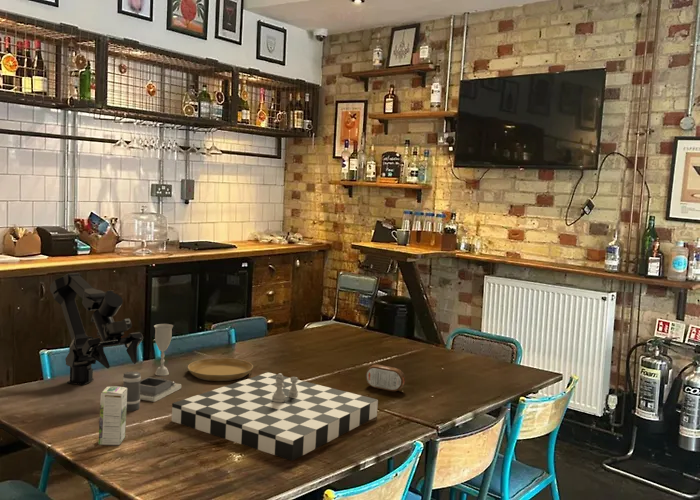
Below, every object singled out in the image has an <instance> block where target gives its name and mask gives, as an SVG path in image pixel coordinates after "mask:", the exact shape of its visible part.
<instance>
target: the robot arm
mask: <svg viewBox="0 0 700 500" xmlns="http://www.w3.org/2000/svg"><path fill="white" fill-rule="evenodd" d="M49 291H50V294H52V297H53V299H54V301H55V302H57V303H58V304H59V305H61V310H62V312H63V313H62V314H63V316H64V319H65V322H66V325H67V329H68V333H69V336H70V339H71V343H70V345H69V349H68V350H69V352H68V354H67V356H66V357H65V365H66V366H67V367H69V380H68V381H66V383H67V384H70V385H73V384H74V385H83V386H85V385H86V384H88V383H90V382H93V381H94V379H95V378H93V372H94V371H93V370H94V369H93V368H92V365H95V364H96V363H97V362H98V363H100V365H102V366H103V367H105V368H106V369H110V367H111V365H110V363H109V359H108V358H107V355H106V353H105V351H104V348H106V347H107V348H108V347H114V346H115V347H117V346H122V345H124V346H125V348H126V350H125V351H126V353H127V354H128V356H129V358H130V360H131V362H132V363H133V364H134V365H136V364H137V362H138V361H137V359H138V357H137V349H138V347H139V346H140V345H141V343H142V341H143V340H144V336H143V333H142V332H140V331H138V332H131V333H130V332H129V333H128V335H127V336H126V337H124V335H125V333H124V332H127V331H129V329H131V328H133V327H132V326H133V324H132V321H131V319H130V318H124V319H122V320H120V321H119V320H118V321H115V320H114V317H115V316H116V315H117V313H118V312H119V310H120V308H121V306H122V305H123V303H124V300H123V298H122V296H120V295H119V294H117V293H115V292H114V290H106V291H104V290H101V289H96V288H94V286H92V285H91V284H89V283H88V281H87V280H86V279H84V278H83V276H82V274H81V273H79V272H77V273H66V274H64V275H63V276H62V277H60V278H57V279H55V280H53V281H52V282H51V283H50V285H49ZM77 295H78V296H79V297H80V298H81V299H82V302H81V303H82V305H83V307H84V309H86V311H88V312H90V311H94V312H93V313H92V314H91V318H90V322H91V323H94V324H95V327H96V330H97V332H96V336H97V337H93V336H88V335H87V334H86V330H85V327H84V325H83V320H82V318H81V315H80V311H79V308H78V305H77V301H76V299H77V298H76V297H77ZM122 337H124V338H122Z"/></svg>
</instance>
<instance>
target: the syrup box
mask: <svg viewBox="0 0 700 500" xmlns="http://www.w3.org/2000/svg"><path fill="white" fill-rule="evenodd" d="M126 409H127V388H125V387H123V386H116V385H115V386H114V385H113V386H106V387H105V388H104V389H103V390H102V391H101V393H100V402H99V419H98V420H99V421H98V423H99V427H98V445H99V446H100V445H101V446H103V445H104V446H120V445H121V444H122V442H123V441H124V439H126V427H127V411H126Z"/></svg>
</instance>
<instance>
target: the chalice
mask: <svg viewBox="0 0 700 500" xmlns="http://www.w3.org/2000/svg"><path fill="white" fill-rule="evenodd" d="M153 327H154V330H155V333H154V340H155V344H156V346H157V348H158V350H159V351H160V352H161V354H160V358H161V359H160V361H159V362H160V366H158V367H157V368H156V370H155V373H154V374H155V375H156V376H161V377H162V376H168V375H169V374H170V373H169V370H168V368H167V366H165V361H166V360H165V356H166V355H165V351H167V350H168V347H169V346H170V344H171V341H172V333H173V331H172V329H173V327H174V324H169V323H158V324H157V323H156V324H155V325H153Z"/></svg>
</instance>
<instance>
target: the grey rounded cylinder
mask: <svg viewBox="0 0 700 500" xmlns="http://www.w3.org/2000/svg"><path fill="white" fill-rule="evenodd" d="M141 376H142V375H141V372H140V371H127V372H124V373H123V377H122V381H123V383H122V384H123V385H122V387H125V388H127V409H126V412H132V411H133V412H134V411H138V410H140V404H141V399H140V380H142V377H141Z"/></svg>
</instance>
